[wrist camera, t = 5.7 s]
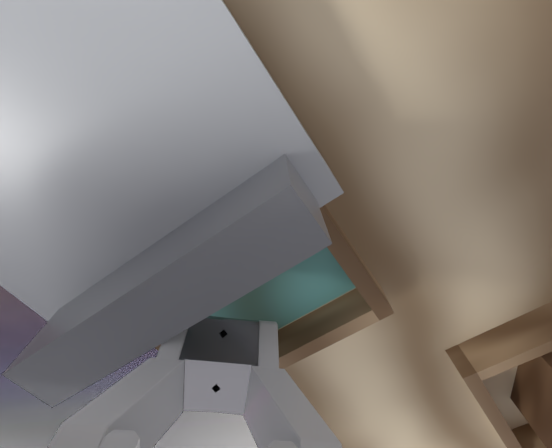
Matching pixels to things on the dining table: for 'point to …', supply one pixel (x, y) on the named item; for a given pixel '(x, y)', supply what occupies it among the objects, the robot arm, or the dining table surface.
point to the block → (535, 395)
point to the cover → (141, 179)
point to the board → (416, 214)
